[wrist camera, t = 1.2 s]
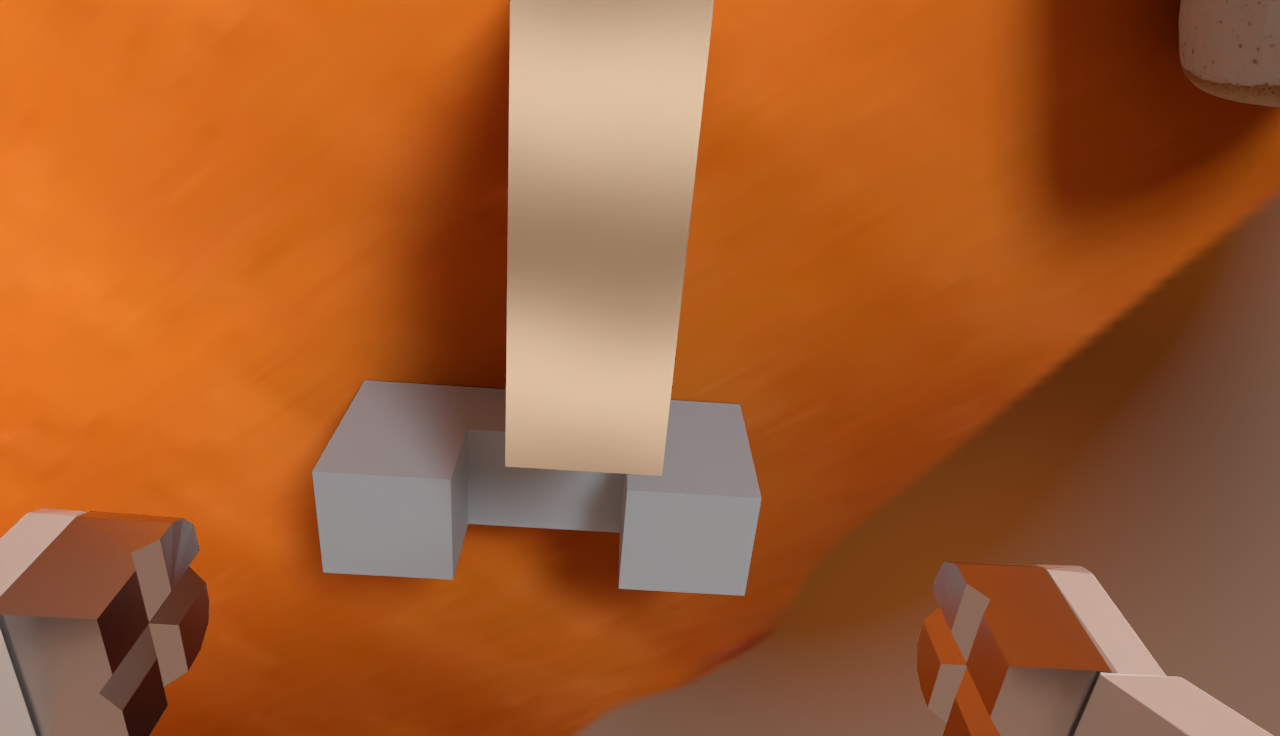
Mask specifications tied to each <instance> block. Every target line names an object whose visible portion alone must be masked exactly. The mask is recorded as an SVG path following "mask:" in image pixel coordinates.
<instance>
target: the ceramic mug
mask: <svg viewBox="0 0 1280 736" xmlns="http://www.w3.org/2000/svg"><path fill="white" fill-rule="evenodd" d="M1178 26H1179V55H1180V63H1181V69H1182V71H1183V73H1184V75H1185V76H1186V77H1187V78H1188V79H1189V80H1190V81H1191V82H1192V83H1193V84H1194V85H1195V86H1196V87H1197V88H1199V89H1200V90H1202V91H1203V92H1206V93H1208V94H1211V95H1213V96H1216V97H1218V98H1223V99H1227V100H1231V101H1236V102H1240V103H1247V104H1254V105H1261V106H1269V107H1279V108H1280V0H1181V4H1180V12H1179V20H1178Z"/></svg>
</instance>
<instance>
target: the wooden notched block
mask: <svg viewBox="0 0 1280 736" xmlns="http://www.w3.org/2000/svg"><path fill="white" fill-rule="evenodd" d="M713 7H714V0H510V52H509V147H508V242H507V337H506V432H505V467H521V468H538V469H554V470H571V471H587V472H604V473H621V474H637V475H654V476H662V472H663V463H664V454H665V445H666V436H667V427H668V417H669V408H670V399H671V390H672V381H673V372H674V363H675V354H676V344H677V335H678V326H679V317H680V308H681V299H682V290H683V280H684V271H685V262H686V253H687V244H688V235H689V226H690V217H691V207H692V198H693V189H694V180H695V171H696V162H697V153H698V144H699V134H700V125H701V116H702V107H703V98H704V89H705V80H706V71H707V61H708V52H709V43H710V34H711V25H712V16H713Z"/></svg>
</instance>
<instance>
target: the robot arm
mask: <svg viewBox="0 0 1280 736" xmlns="http://www.w3.org/2000/svg"><path fill="white" fill-rule="evenodd" d="M198 552H199V545H198V541H197V537H196V533H195V529H194V525H193V524H191V523H190V522H188V521H187V520H185V519H184V518H174V517H161V516H148V515H136V514H123V513H110V512H97V511H90V512H85V511H77V510H62V509H48V508H42V509H39V510H35V511H32V512H28V513H27V514H26V515H24V516H23V517H22V518H21V519H20V520H19V521H18V522H17V523H16V524H15V525H14V526H13V527H12V528H11V529H10V530H9V531H8V532H7V533H6V534H4V535H3V536H2V537H1V538H0V736H150V734H151V732H152V731H153V729H154V727H155V726H156V724H157V722H158V721H159V719H160V717H161V716H162V714H163V713H164V711H165V709H166V708H167V706H168V704H167V700H166V695H165V691H164V686H166V685H168V684H169V683H171V682H172V681H174V680H175V679H177V678H179V677H180V676H182V675H183V674H185V673H186V672H188V671H189V669H190V667H191V666H192V664H193V662H194V660H195V659H196V657H197V655H198V653H199V651H200V650H201V646H202V643H203V639H204V636H205V632H206V629H207V625H208V617H209V598H208V592H207V586H206V583H205V582H204V581H203V580H202V579H201V578H200V577H199V576H198V575H197V574H196V573H195V572H194V571H193V570H192V569H191V568H190V567H189V565H190V563H191V562H192V560H193V559H194V557H195V556H196V554H197V553H198ZM932 590H933V593H934V595H935V597H936V599H937V602H938V604H939V606H940V608H938V609H937V610H936V611H935V612H934V613H932V614H931V615H930V616H929V617H927V618H926V619H925V620H924V621H923V624H922V628H921V632H920V636H919V640H918V645H917V646H918V647H917V671H918V676H919V681H920V686H921V690H922V693H923V696H924V698H925V701H926V704H927V707H928V708H929V709H930V710H931V711H932V712H934V713H935V714H936V715H937V716H938V717H939V718H940V719H942V720H943V721H944V722H945V723H946V727H945V730H944V734H943V736H1273V735H1272V734H1270V733H1268V732H1267V731H1265V730H1264V729H1262V728H1261V727H1259V726H1257V725H1256V724H1254V723H1252V722H1251V721H1250V720H1248V719H1246V718H1245V717H1243V716H1242V715H1240V714H1238V713H1237V712H1235V711H1234V710H1232V709H1231V708H1229V707H1227V706H1226V705H1224V704H1223V703H1221V702H1219V701H1218V700H1217V699H1215V698H1213V697H1212V696H1210V695H1209V694H1207V693H1206V692H1204V691H1202V690H1201V689H1199V688H1198V687H1196V686H1194V685H1193V684H1191V683H1190V682H1188V681H1187V680H1185V679H1183V678H1182V677H1172V676H1166V675H1165V673H1164V672H1163V671H1162V669H1161V668H1160V666H1159V665H1158V664H1157V662H1156V661H1155V660H1154V658H1153V657H1152V656H1151V654H1150V653H1149V651H1148V650H1147V648H1146V647H1145V646H1144V644H1143V643H1142V642H1141V640H1140V639H1139V637H1138V636H1137V635H1136V633H1135V632H1134V630H1133V629H1132V628H1131V626H1130V625H1129V623H1128V622H1127V621H1126V619H1125V618H1124V617H1123V615H1122V614H1121V612H1120V611H1119V610H1118V608H1117V607H1116V605H1115V604H1114V603H1113V601H1112V600H1111V599H1110V597H1109V596H1108V594H1107V593H1106V592H1105V590H1104V589H1103V588H1102V586H1101V585H1100V583H1099V582H1098V581H1097V579H1096V578H1095V576H1094V575H1093V574H1092V573H1091V572H1090V571H1088V570H1087V569H1085V568H1083V567H1081V566H1064V565H1035V566H1024V565H1005V564H986V563H985V564H984V563H965V562H947V561H946V562H945V563H944V564H943V566H942V567H941V568H940V570H939V571H938V573H937V577H936V580H935V583H934V586H933V589H932Z"/></svg>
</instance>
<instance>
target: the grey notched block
mask: <svg viewBox="0 0 1280 736" xmlns="http://www.w3.org/2000/svg"><path fill="white" fill-rule="evenodd" d="M505 432H506V389H493V388H478V387H462V386H447V385H431V384H416V383H400V382H385V381H369V380H365V381H364V382H363V384H362V386H361V388H360V389H359V391H358V393H357V395H356V396H355V398H354V400H353V401H352V403H351V405H350V407H349V408H348V410H347V412H346V414H345V415H344V417H343V419H342V420H341V422H340V424H339V426H338V427H337V429H336V431H335V433H334V434H333V436H332V438H331V440H330V441H329V443H328V445H327V446H326V448H325V450H324V452H323V453H322V455H321V457H320V459H319V460H318V462H317V464H316V466H315V467H314V469H313V471H312V476H313V485H314V494H315V503H316V512H317V521H318V530H319V539H320V548H321V557H322V566H323V573H339V574H357V575H375V576H394V577H412V578H431V579H449V580H453V578H454V574H455V571H456V567H457V563H458V559H459V556H460V552H461V548H462V545H463V541H464V537H465V533H466V530H467V526H468V524H478V525H495V526H513V527H530V528H547V529H565V530H582V531H600V532H617V533H619V589H633V590H651V591H669V592H688V593H706V594H724V595H743V596H744V595H745V590H746V584H747V578H748V572H749V567H750V561H751V555H752V550H753V544H754V538H755V532H756V527H757V521H758V515H759V509H760V504H761V494H760V490H759V485H758V481H757V477H756V472H755V468H754V464H753V459H752V455H751V450H750V446H749V442H748V437H747V433H746V428H745V424H744V420H743V415H742V411H741V407H740V404H726V403H710V402H695V401H679V400H670V408H669V417H668V427H667V436H666V445H665V454H664V463H663V472H662V476H654V475H637V474H621V473H604V472H587V471H571V470H554V469H538V468H521V467H505Z"/></svg>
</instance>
